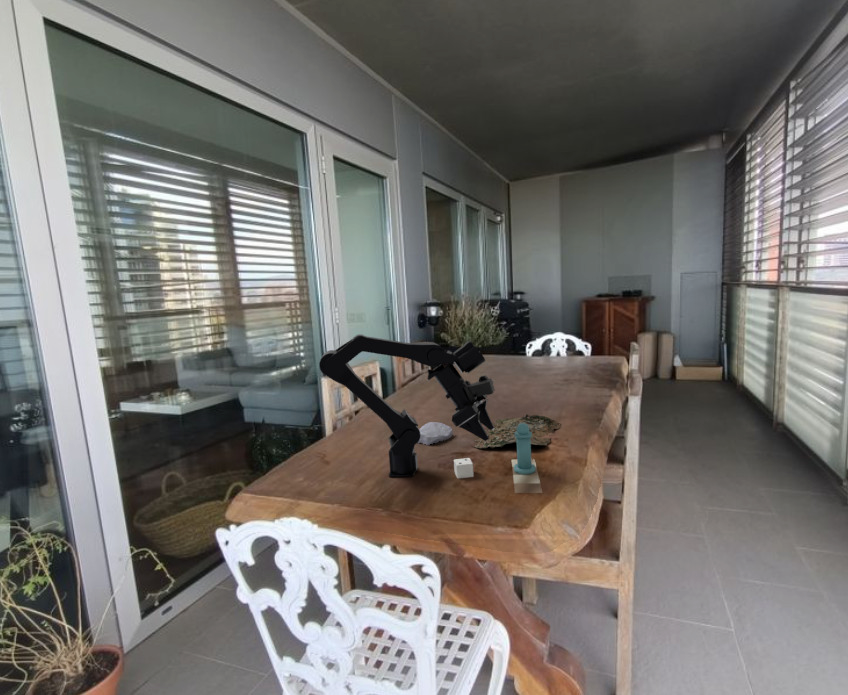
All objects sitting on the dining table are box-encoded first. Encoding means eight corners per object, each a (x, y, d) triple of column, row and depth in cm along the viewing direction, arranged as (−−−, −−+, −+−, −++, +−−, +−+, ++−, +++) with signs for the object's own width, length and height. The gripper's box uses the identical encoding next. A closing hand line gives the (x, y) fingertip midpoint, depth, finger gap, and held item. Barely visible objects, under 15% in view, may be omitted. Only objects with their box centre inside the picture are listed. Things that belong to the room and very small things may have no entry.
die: (457, 481, 114) (456, 465, 113) (454, 474, 118) (453, 459, 117) (473, 479, 114) (472, 463, 114) (470, 473, 118) (469, 457, 118)
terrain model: (488, 420, 165) (488, 406, 164) (562, 427, 154) (562, 412, 153) (455, 449, 137) (455, 433, 136) (543, 461, 126) (543, 443, 125)
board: (514, 495, 104) (514, 492, 104) (511, 461, 124) (511, 459, 123) (542, 495, 103) (542, 492, 103) (534, 461, 123) (534, 459, 123)
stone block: (455, 441, 149) (430, 431, 154) (457, 427, 147) (431, 417, 153) (433, 454, 140) (407, 443, 145) (434, 440, 138) (408, 428, 144)
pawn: (514, 474, 114) (512, 426, 112) (513, 466, 119) (511, 420, 117) (536, 474, 113) (534, 426, 111) (534, 466, 118) (532, 419, 116)
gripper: (472, 373, 109) (512, 428, 108) (484, 361, 127) (518, 408, 126) (435, 399, 112) (474, 452, 111) (452, 383, 130) (485, 429, 129)
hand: (489, 434), depth 119 cm, fingers open, 9 cm apart
